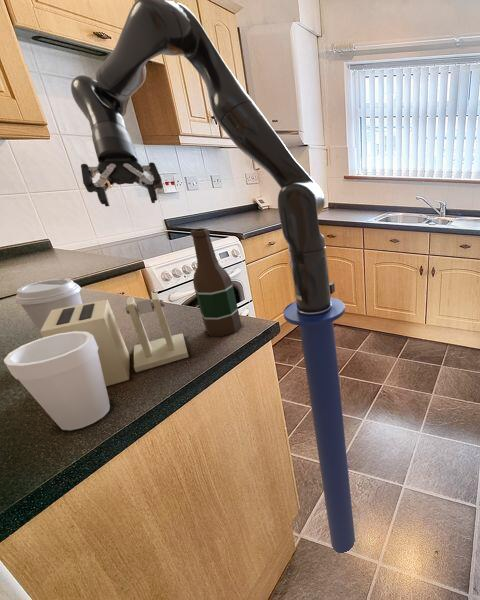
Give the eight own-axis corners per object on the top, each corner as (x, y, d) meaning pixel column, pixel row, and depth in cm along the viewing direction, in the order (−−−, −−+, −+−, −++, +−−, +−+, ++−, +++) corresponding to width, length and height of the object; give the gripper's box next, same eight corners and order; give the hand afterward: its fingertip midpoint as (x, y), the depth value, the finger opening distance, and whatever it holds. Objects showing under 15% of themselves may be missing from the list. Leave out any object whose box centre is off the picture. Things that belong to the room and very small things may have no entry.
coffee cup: (112, 344, 75) (86, 281, 69) (57, 366, 67) (22, 297, 61) (91, 334, 79) (64, 274, 73) (36, 354, 71) (2, 289, 65)
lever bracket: (135, 350, 72) (114, 295, 67) (183, 337, 77) (167, 285, 72) (135, 372, 65) (112, 313, 60) (188, 357, 70) (171, 301, 65)
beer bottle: (227, 319, 86) (204, 224, 76) (248, 325, 82) (227, 227, 73) (198, 332, 79) (169, 231, 69) (221, 340, 76) (194, 235, 66)
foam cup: (116, 389, 60) (88, 325, 55) (127, 414, 55) (97, 345, 49) (43, 416, 54) (4, 348, 49) (46, 448, 48) (2, 374, 43)
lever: (136, 314, 75) (133, 304, 75) (165, 308, 78) (162, 298, 78) (129, 316, 64) (125, 304, 64) (163, 308, 67) (159, 297, 67)
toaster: (79, 369, 66) (50, 309, 61) (129, 355, 70) (107, 298, 65) (72, 396, 59) (39, 330, 53) (129, 379, 63) (103, 317, 58)
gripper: (69, 134, 73) (83, 193, 70) (147, 135, 81) (164, 189, 77) (81, 160, 80) (95, 216, 76) (153, 159, 87) (169, 209, 83)
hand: (130, 202), depth 76 cm, fingers open, 8 cm apart
